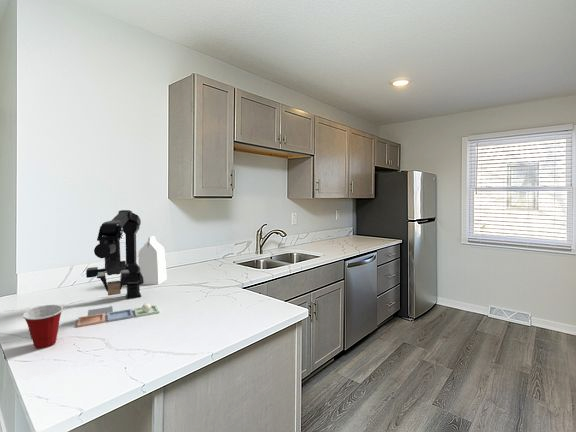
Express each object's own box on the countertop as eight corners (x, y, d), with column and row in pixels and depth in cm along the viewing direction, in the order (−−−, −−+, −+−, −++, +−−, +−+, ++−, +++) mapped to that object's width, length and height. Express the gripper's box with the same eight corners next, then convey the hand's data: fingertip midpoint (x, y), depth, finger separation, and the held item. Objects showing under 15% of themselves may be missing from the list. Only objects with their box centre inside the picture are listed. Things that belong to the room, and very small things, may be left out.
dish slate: (107, 315, 134) (107, 312, 134) (131, 311, 138) (131, 308, 138) (107, 323, 126) (107, 320, 126) (133, 318, 131) (133, 315, 131)
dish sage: (134, 311, 139) (133, 308, 139) (156, 307, 143) (156, 304, 143) (135, 318, 131) (135, 315, 131) (159, 314, 136) (159, 311, 136)
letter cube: (107, 292, 134) (107, 281, 134) (119, 290, 136) (119, 280, 136) (108, 295, 130) (107, 284, 130) (120, 293, 132) (120, 283, 132)
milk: (158, 284, 180) (157, 238, 178) (138, 284, 180) (136, 238, 178) (166, 278, 192) (165, 235, 190) (147, 278, 192) (146, 235, 190)
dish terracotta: (78, 320, 129) (78, 317, 129) (104, 315, 133) (104, 313, 133) (77, 328, 121) (77, 325, 121) (104, 323, 126) (104, 320, 126)
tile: (88, 310, 139) (88, 310, 139) (112, 307, 144) (112, 306, 144) (87, 317, 131) (87, 316, 131) (112, 313, 136) (112, 312, 136)
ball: (141, 311, 138) (141, 303, 138) (150, 309, 140) (150, 301, 139) (142, 313, 135) (142, 305, 135) (151, 312, 137) (151, 304, 136)
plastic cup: (20, 356, 101) (18, 318, 100) (28, 341, 110) (27, 307, 109) (62, 348, 106) (60, 312, 105) (67, 335, 115) (65, 302, 114)
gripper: (85, 259, 120) (87, 300, 122) (139, 254, 130) (140, 292, 131) (85, 254, 130) (87, 291, 131) (136, 249, 139) (137, 285, 141)
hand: (113, 290), depth 133 cm, fingers closed on letter cube, 4 cm apart
